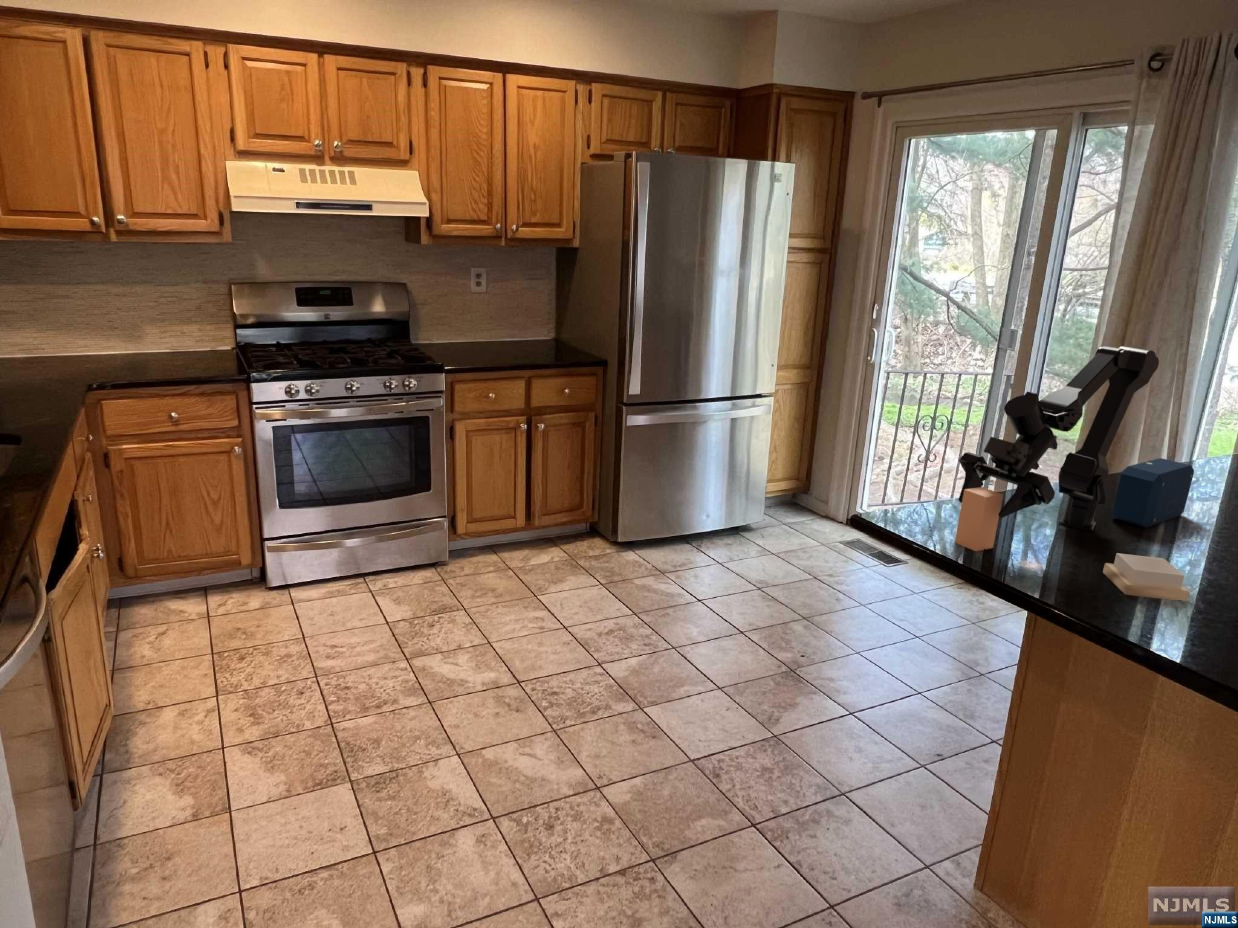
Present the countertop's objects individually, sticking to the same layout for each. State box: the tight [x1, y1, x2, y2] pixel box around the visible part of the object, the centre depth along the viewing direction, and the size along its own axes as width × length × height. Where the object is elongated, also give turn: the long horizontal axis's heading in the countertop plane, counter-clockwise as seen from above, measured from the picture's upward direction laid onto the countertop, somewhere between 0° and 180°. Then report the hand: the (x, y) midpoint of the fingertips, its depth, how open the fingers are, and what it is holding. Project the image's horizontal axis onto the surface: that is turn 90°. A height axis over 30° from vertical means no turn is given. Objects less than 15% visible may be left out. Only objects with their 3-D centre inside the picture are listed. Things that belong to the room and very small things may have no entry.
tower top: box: [1113, 552, 1185, 589], centre depth 150 cm, size 8×8×2 cm
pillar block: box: [954, 486, 1004, 552], centre depth 165 cm, size 5×5×11 cm
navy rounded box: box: [1111, 429, 1195, 529], centre depth 188 cm, size 21×9×20 cm, turn 126°
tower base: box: [1102, 562, 1190, 602], centre depth 151 cm, size 10×10×2 cm
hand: (979, 508), depth 164 cm, fingers open, 9 cm apart
